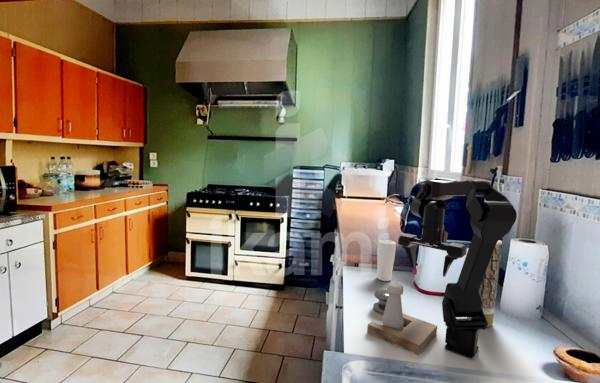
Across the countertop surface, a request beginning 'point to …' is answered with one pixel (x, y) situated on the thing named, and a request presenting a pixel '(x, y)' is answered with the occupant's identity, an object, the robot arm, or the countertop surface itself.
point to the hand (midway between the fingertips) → (428, 272)
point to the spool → (380, 300)
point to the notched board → (406, 333)
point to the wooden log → (490, 284)
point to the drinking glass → (385, 259)
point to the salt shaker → (393, 307)
